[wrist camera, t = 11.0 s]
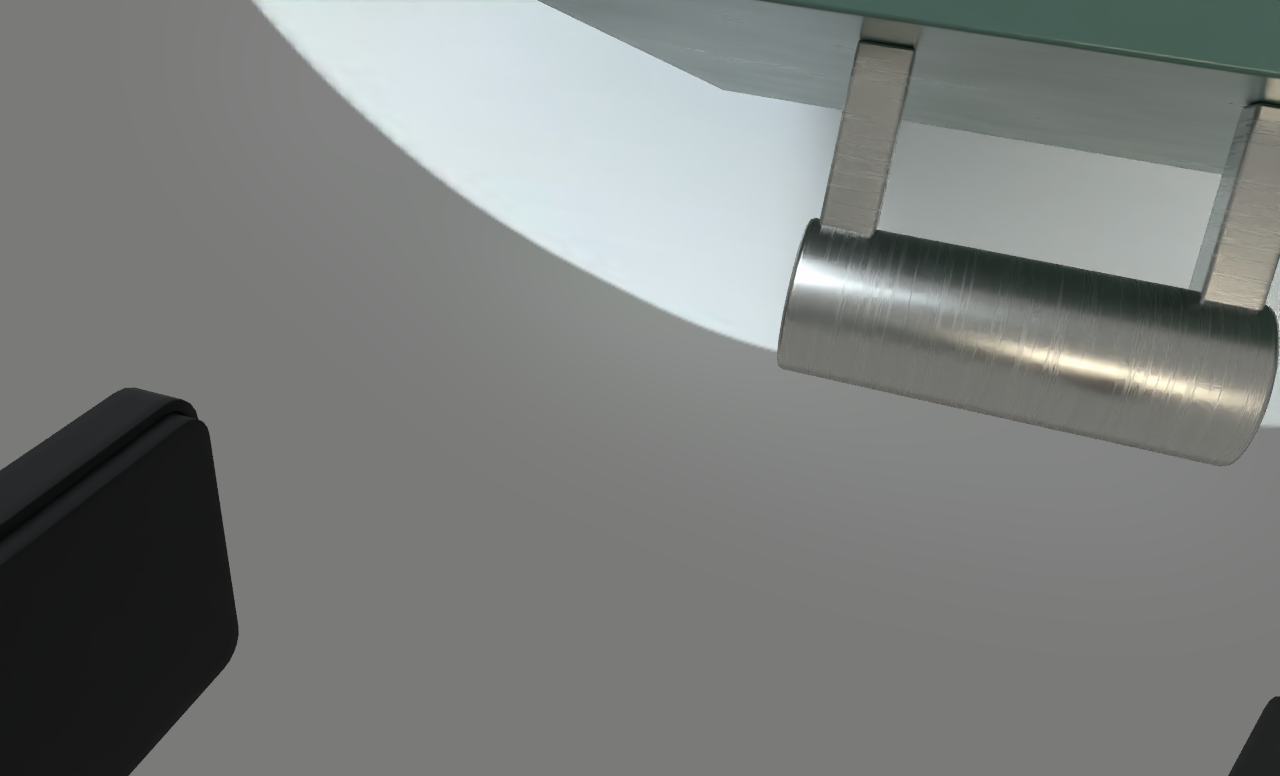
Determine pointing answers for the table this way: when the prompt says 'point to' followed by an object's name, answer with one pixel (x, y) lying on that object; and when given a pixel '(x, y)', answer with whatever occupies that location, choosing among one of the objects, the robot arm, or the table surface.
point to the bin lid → (1004, 284)
